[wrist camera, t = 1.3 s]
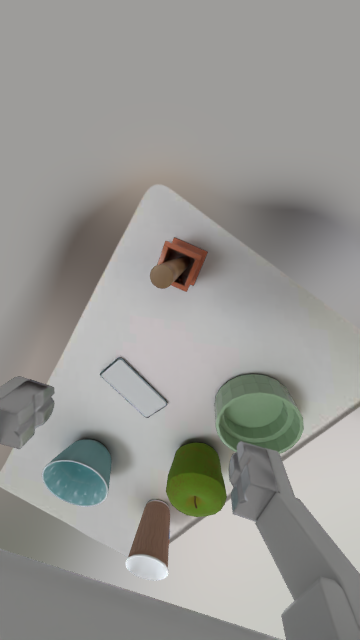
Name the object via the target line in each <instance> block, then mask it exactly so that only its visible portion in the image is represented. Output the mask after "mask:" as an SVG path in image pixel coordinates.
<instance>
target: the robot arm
mask: <svg viewBox="0 0 360 640" xmlns="http://www.w3.org/2000/svg"><path fill="white" fill-rule="evenodd" d="M53 394H54V387H52V386H49V385H46V384H43V383H40V382H37V381H34V380H31V379H27V378H24V377H21V376H18V377H14V378H13V379H11V380H10V381H8V382H7V383H5V384H4V385H2V386H1V387H0V444H2V445H6V446H10V447H13V448H17V449H21V448H22V447H23V446H24V445H25V444H26V442H27V441H28V440H29V439H30V438H31V437H32V436H33V435H34V433H35V428H37V427H39V426H41V425H43V424H44V423H45V422H46V421H47V420H48V418H49V417H50V415H51V413H52V412H53V408H54V400H53V399H52V397H51V396H52V395H53ZM229 480H230V482H231V484H232V485H233V487H234V488H233V490H232V492H231V500H232V510H233V514H234V515H238V516H240V517H243V518H246V519H249V520H253V521H255V522H256V525H257V527H258V529H259V531H260V533H261V535H262V537H263V539H264V541H265V543H266V545H267V547H268V549H269V551H270V553H271V555H272V557H273V559H274V561H275V563H276V565H277V567H278V569H279V571H280V573H281V575H282V577H283V579H284V581H285V583H286V585H287V587H288V589H289V591H290V593H291V594H292V597H293V599H294V602H293V603H292V604H291V605H290V606H289V607H288V608H286V609H285V610H284V612H283V614H282V621H283V626H284V631H285V636H286V640H360V574H359V572H358V571H357V570H356V569H355V567H354V566H353V565H352V564H351V563H350V561H349V560H348V559H347V558H346V556H345V555H344V554H343V553H342V551H341V550H340V549H339V548H338V546H337V545H336V544H335V543H334V541H333V540H332V539H331V538H330V537H329V535H328V534H327V533H326V532H325V530H324V529H323V528H322V527H321V525H320V524H319V523H318V522H317V520H316V519H315V518H314V517H313V515H312V514H311V513H310V512H309V510H308V509H307V508H306V507H305V506H304V504H303V503H302V502H301V500H300V499H298V498H295V496H294V493H293V490H292V487H291V485H290V482H289V479H288V476H287V474H286V471H285V468H284V465H283V462H282V460H281V457H280V454H279V453H278V452H277V451H274V450H271V449H267V448H264V447H261V446H257V445H254V444H250V443H246V442H243V441H240V442H239V443H238V445H237V452H236V453H234V454H233V455H232V457H231V459H230V464H229ZM0 640H282V639H279V638H276V637H273V636H269V635H267V634H263V633H260V632H257V631H254V630H251V629H248V628H245V627H242V626H238V625H236V624H232V623H229V622H226V621H223V620H220V619H217V618H214V617H211V616H208V615H205V614H201V613H198V612H195V611H192V610H189V609H186V608H182V607H179V606H177V605H174V604H170V603H167V602H164V601H161V600H158V599H155V598H152V597H149V596H146V595H142V594H139V593H136V592H133V591H130V590H127V589H124V588H121V587H117V586H115V585H111V584H108V583H105V582H102V581H99V580H96V579H92V578H90V577H87V576H84V575H80V574H77V573H74V572H71V571H68V570H65V569H61V568H59V567H56V566H53V565H49V564H46V563H43V562H40V561H37V560H34V559H30V558H28V557H25V556H21V555H18V554H15V553H12V552H9V551H6V550H3V549H0Z"/></svg>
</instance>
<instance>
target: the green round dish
mask: <svg viewBox="0 0 360 640" xmlns="http://www.w3.org/2000/svg"><path fill="white" fill-rule="evenodd" d="M214 406H215V425H216V430H217V434H218V436H219V438H220V439H221V440H222V442H223V443H224V444H225V445H226V446H227V447H229V448H230V449H231V450H233V451H235V452H237V445H238V443H239V442H240V441H243V442H246V443H250V444H254V445H257V446H261V447H264V448H267V449H271V450H274V451H277V452H278V453H279V454H281V453H283V452H285V451H287V450H288V449H290V448H292V447H293V446H294V445H295V444H296V443H297V441H298V440H299V439H300V437H301V435H302V432H303V429H304V426H303V417H302V415H301V414H300V412H299V410H298V408H297V406H296V405H295V403H294V401H293V399H292V398H291V396H290V394H289V392H288V390H287V389H286V387H284V386H283V385H282V384H281V383H280V382H279V381H277V380H275V379H273V378H270V377H268V376H265V375H257V374H250V375H242V376H239V377H236V378H234V379H231V380H230V381H228V382H227V383H226V384H225V385H223V386H222V387H221V388H220V390H219V392H218V393H217V395H216V399H215V405H214Z"/></svg>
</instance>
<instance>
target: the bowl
mask: <svg viewBox="0 0 360 640" xmlns="http://www.w3.org/2000/svg"><path fill="white" fill-rule="evenodd" d="M110 471H111V456H110V454H109V452H108V450H107V449H106V447H105V446H104V445H103V444H101V443H100V442H98V441H95V440H92V439H85V440H79V441H76V442H74V443H73V444H71V445H70V446H69V447H68V448H66V449H65V450H64V451H63V452H61V453H60V454H59V455H58V456H57V457H55V458H54V459H53V460H52V461H51V462H50V463H48V464H47V465H46V466H45V468H44V469H43V472H42V479H43V482H44V484H45V486H46V487H47V489H48V490H49V491H50V492H51V493H52V494H54V495H55V496H56V497H58V498H59V499H61V500H63V501H65V502H67V503H70V504H73V505H77V506H85V507H88V506H95V505H98V504H100V503H102V502H103V501H104V500H105V499H106V497H107V495H108V490H109V481H110Z"/></svg>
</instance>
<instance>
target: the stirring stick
mask: <svg viewBox="0 0 360 640" xmlns="http://www.w3.org/2000/svg"><path fill="white" fill-rule="evenodd" d="M189 264H190V260H189V258H188V257H186V256H182V257H179V258H176V259H173V260H171V261H168V262H165V263H162V264H159V265H157V266H155V267H154V268H153V269H152V270H151V273H150V279H151V282H152V283H153V285H154V286H156V287H158V288H162V289H163V288H167V287H169V286H170V285H171V284H172V283H173V282H174V281H175V280H176V279H177V278H178V277H179V276H180V275H181V274H182V273H183V272H184V270H185V269H186V268H187V267H188V266H189Z"/></svg>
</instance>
